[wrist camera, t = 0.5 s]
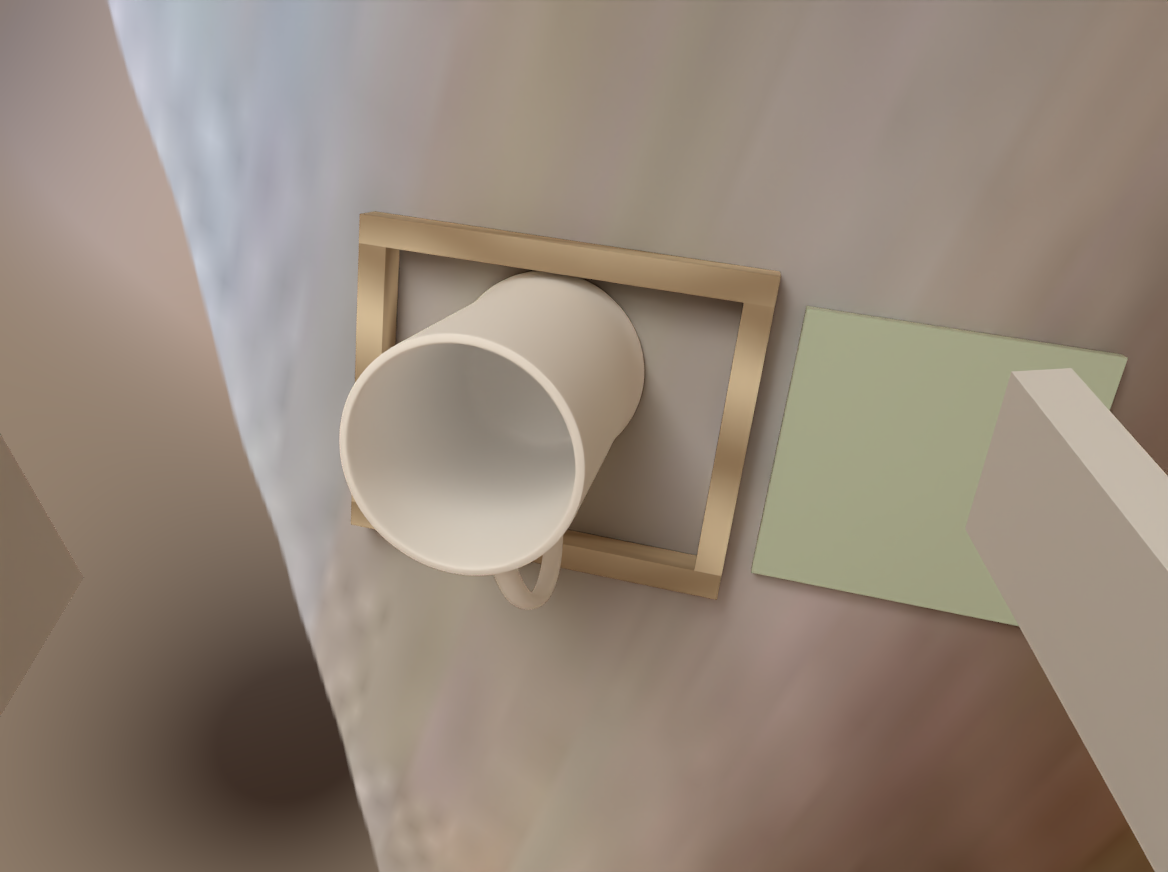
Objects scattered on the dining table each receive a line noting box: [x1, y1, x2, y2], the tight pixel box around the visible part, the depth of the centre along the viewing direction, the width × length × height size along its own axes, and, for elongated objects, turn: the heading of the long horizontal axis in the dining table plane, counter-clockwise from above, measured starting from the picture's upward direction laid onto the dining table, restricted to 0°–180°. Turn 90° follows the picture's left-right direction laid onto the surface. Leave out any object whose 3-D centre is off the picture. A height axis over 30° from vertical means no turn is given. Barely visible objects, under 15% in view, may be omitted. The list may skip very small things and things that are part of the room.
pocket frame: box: [351, 211, 781, 600], centre depth 38 cm, size 14×17×2 cm
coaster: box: [751, 306, 1128, 626], centre depth 36 cm, size 12×12×1 cm
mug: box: [339, 271, 644, 609], centre depth 33 cm, size 12×8×12 cm
